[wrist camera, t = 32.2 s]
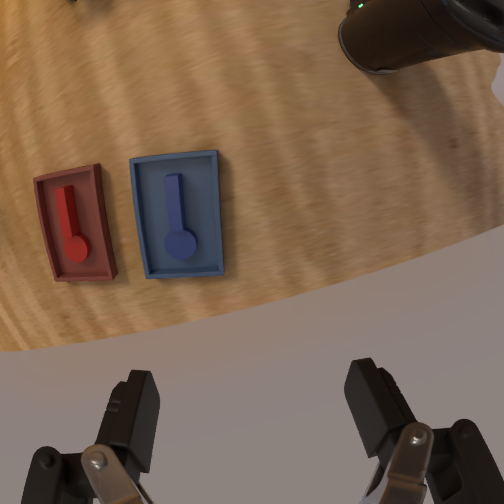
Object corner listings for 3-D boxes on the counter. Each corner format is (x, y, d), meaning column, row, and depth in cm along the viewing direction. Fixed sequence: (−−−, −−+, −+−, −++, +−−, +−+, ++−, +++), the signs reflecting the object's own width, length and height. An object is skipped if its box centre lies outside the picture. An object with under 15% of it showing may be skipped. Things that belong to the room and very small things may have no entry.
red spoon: (93, 258, 35) (86, 265, 33) (71, 259, 35) (63, 267, 32) (79, 182, 31) (71, 186, 29) (56, 187, 31) (47, 191, 28)
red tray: (40, 175, 30) (32, 178, 28) (99, 163, 31) (93, 165, 29) (61, 275, 36) (55, 281, 34) (117, 273, 36) (113, 280, 35)
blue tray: (134, 157, 31) (128, 159, 29) (217, 149, 32) (216, 150, 30) (149, 272, 37) (145, 279, 35) (224, 268, 37) (224, 275, 36)
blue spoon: (198, 255, 36) (197, 263, 34) (168, 257, 36) (164, 264, 33) (191, 171, 32) (188, 174, 30) (158, 175, 32) (153, 177, 29)
